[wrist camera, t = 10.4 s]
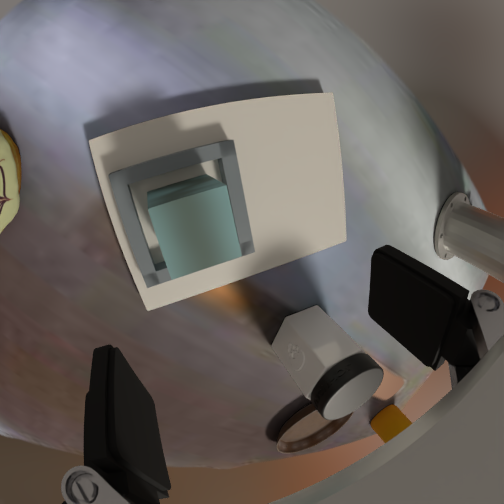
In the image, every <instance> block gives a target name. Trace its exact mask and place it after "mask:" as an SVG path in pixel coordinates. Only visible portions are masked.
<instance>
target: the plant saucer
mask: <svg viewBox="0 0 504 504" xmlns="http://www.w3.org/2000/svg"><path fill="white" fill-rule="evenodd" d="M353 413H354V411H353V412H352V413H350V414H348V415H346V416H344V417H342V418H339V419H335V420H326V419H324V418H323V417H322V416H321V415H320V414H319V413H318V412H317V410H316V409H315V407H314V405H313V403H312V404H310V405H308V406H306V407H305V408H303V409H301V410H300V411H298V412H297V413H296V414H294V415H293V416H292V417H291V418H290V419H289V420H288V421H287V422H286V423H285V424H284V425H283V427H282V428H281V430H280V432H279V435H278V439H277V450H278V451H279V452H281V453H294V452H299V451H302V450H305V449H308V448H310V447H312V446H315V445H317V444H319V443H320V442H322V441H324V440H325V439H327V438H329V437H330V436H331V435H333V434H334V433H335V432H337V431H338V430H339V429H340V428H341V427H342V426H343V425H344V424H345V423H346V422H347V421H348V420H349V419H350V417H351V416H352V414H353Z"/></svg>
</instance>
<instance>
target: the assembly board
mask: <svg viewBox="0 0 504 504" xmlns="http://www.w3.org/2000/svg"><path fill="white" fill-rule="evenodd" d="M89 145H90V149H91V153H92V157H93V161H94V164H95V168H96V172H97V176H98V179H99V183H100V186H101V189H102V193H103V196H104V199H105V202H106V206H107V209H108V212H109V215H110V218H111V221H112V224H113V227H114V229H115V232H116V235H117V238H118V241H119V243H120V246H121V249H122V251H123V254H124V257H125V259H126V262H127V264H128V267H129V269H130V272H131V274H132V276H133V279H134V281H135V284H136V286H137V288H138V291H139V293H140V295H141V297H142V300H143V302H144V304H145V306H146V309H147V311H149V310H152V309H155V308H158V307H161V306H164V305H167V304H170V303H173V302H176V301H179V300H182V299H185V298H188V297H191V296H194V295H197V294H200V293H203V292H206V291H209V290H212V289H215V288H218V287H220V286H223V285H226V284H229V283H232V282H235V281H238V280H240V279H243V278H246V277H249V276H252V275H255V274H257V273H260V272H263V271H266V270H269V269H271V268H274V267H277V266H280V265H283V264H285V263H288V262H291V261H294V260H296V259H299V258H302V257H305V256H307V255H310V254H313V253H315V252H318V251H321V250H323V249H326V248H329V247H331V246H334V245H337V244H339V243H342V242H345V241H346V217H345V198H344V184H343V171H342V160H341V150H340V141H339V133H338V125H337V117H336V110H335V104H334V97H333V93H311V94H296V95H284V96H273V97H264V98H256V99H249V100H242V101H235V102H229V103H223V104H218V105H212V106H207V107H202V108H198V109H193V110H188V111H184V112H180V113H176V114H171V115H167V116H164V117H160V118H156V119H152V120H149V121H145V122H142V123H139V124H135V125H132V126H129V127H126V128H123V129H120V130H117V131H114V132H111V133H108V134H105V135H102V136H99V137H97V138H94V139H91V140H89ZM204 174H207V175H209V176H211V177H213V178H215V179H216V180H218V181H220V182H222V183H224V184H225V185H227V190H228V194H229V199H230V204H231V208H232V213H233V218H234V222H235V227H236V231H237V236H238V240H239V245H240V250H241V254H242V256H241V257H238V258H235V259H232V260H229V261H226V262H223V263H220V264H217V265H214V266H211V267H208V268H206V269H203V270H200V271H197V272H194V273H191V274H188V275H185V276H182V277H179V278H176V279H173V280H172V279H171V277H170V274H169V271H168V268H167V266H166V263H165V260H164V257H163V254H162V251H161V248H160V246H159V243H158V240H157V237H156V234H155V230H154V227H153V224H152V221H151V218H150V215H149V211H148V203H147V192H148V191H151V190H154V189H157V188H160V187H164V186H167V185H170V184H173V183H177V182H180V181H183V180H187V179H190V178H194V177H197V176H201V175H204Z"/></svg>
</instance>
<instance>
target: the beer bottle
mask: <svg viewBox="0 0 504 504" xmlns="http://www.w3.org/2000/svg"><path fill="white" fill-rule="evenodd" d="M370 424H371V427H372V429H373V430H374V431H375V432H376V433H377V434H378V435H379V436H380V438H381V439H382V440H383V441H384V442H385V443H387V442H388V441H390V440H391V439H392V438H394V437H395V436H397V435H398V434H399V433H401V432H402V431H403V430H405V429H406V428H407V427H409V426H410V425H411V424H413V423H411V421H410V420H409V419H408V418H407V417H406V416H405V415H404V414H403V413H402V412H401V411H400V409H399V408H398V407H397V406H395V405H393V404H392V405H389V406H387V407H386V408H384V409H383V410H381V411H380V412H379V413H378V414H377V415H376V416H375V417H374V418H373V419H372V421H371V423H370Z"/></svg>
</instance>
